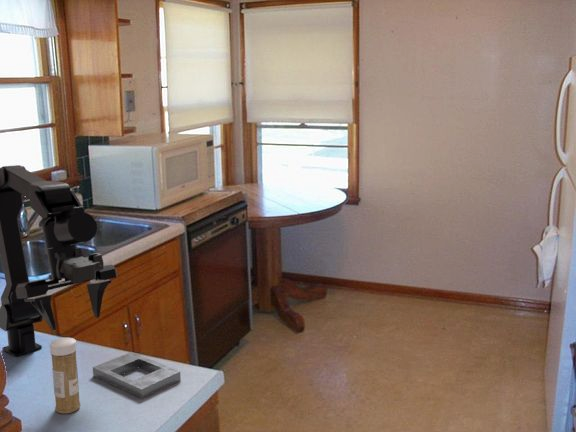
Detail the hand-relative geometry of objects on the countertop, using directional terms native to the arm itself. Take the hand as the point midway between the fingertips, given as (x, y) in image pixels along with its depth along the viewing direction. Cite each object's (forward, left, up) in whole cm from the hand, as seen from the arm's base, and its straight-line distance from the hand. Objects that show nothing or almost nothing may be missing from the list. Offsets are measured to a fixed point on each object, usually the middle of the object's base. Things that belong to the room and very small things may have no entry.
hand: (76, 323), depth 120 cm
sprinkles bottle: (+6, -7, -14) cm, 16 cm away
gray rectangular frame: (+6, +9, -13) cm, 17 cm away
